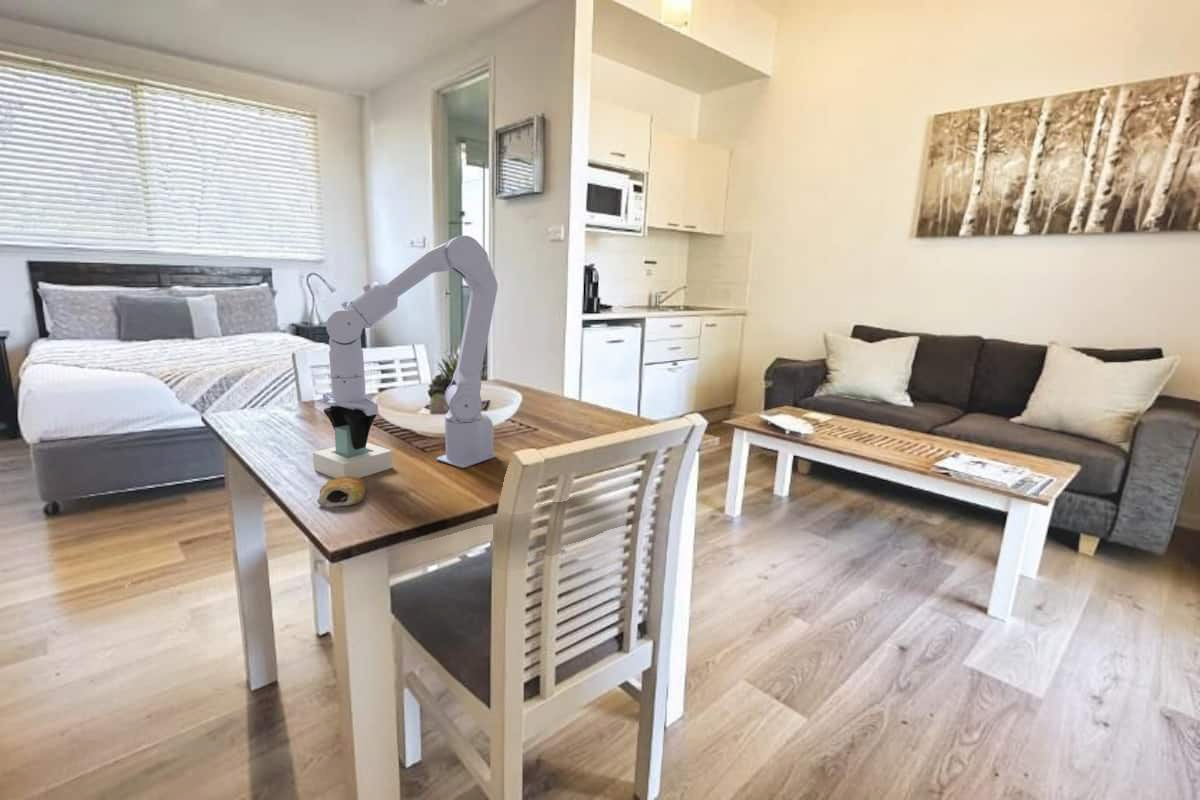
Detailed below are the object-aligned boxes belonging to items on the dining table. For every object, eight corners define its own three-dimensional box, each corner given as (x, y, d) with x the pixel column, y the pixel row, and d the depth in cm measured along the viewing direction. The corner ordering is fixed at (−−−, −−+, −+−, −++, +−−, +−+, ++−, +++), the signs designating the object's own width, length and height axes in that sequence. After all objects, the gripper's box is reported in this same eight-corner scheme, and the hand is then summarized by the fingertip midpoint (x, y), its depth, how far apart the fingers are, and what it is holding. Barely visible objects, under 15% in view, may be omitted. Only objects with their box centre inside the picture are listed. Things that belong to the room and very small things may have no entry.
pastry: (332, 487, 101) (331, 467, 100) (372, 487, 102) (371, 466, 101) (315, 509, 92) (314, 487, 91) (360, 508, 93) (359, 486, 92)
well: (361, 456, 116) (360, 440, 115) (392, 467, 111) (391, 450, 110) (314, 470, 108) (312, 452, 107) (345, 482, 103) (343, 464, 102)
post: (354, 463, 111) (353, 423, 110) (366, 467, 109) (365, 427, 108) (336, 467, 108) (334, 427, 107) (348, 472, 106) (346, 431, 105)
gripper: (305, 372, 106) (310, 442, 109) (351, 383, 98) (355, 458, 101) (340, 368, 112) (345, 434, 115) (386, 378, 104) (390, 449, 107)
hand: (352, 445), depth 108 cm, fingers open, 4 cm apart
